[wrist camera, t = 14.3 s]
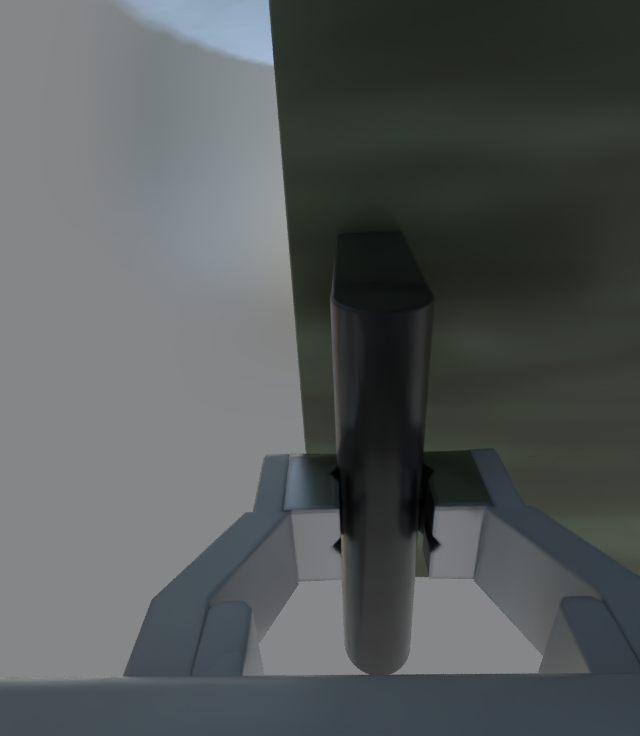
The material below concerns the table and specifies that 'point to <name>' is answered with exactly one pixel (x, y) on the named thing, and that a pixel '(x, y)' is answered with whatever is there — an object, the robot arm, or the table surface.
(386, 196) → the compartment door
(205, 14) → the table surface
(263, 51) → the table surface
